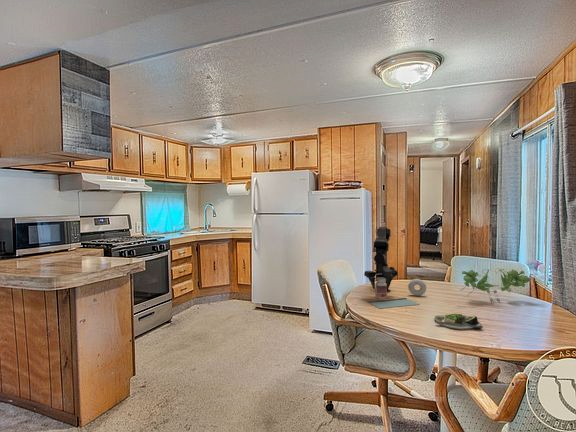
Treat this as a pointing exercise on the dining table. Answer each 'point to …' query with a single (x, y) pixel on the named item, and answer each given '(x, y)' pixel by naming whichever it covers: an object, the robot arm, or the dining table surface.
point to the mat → (394, 303)
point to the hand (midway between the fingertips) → (381, 288)
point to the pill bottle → (381, 288)
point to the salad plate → (458, 321)
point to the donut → (412, 289)
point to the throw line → (386, 300)
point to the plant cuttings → (506, 282)
